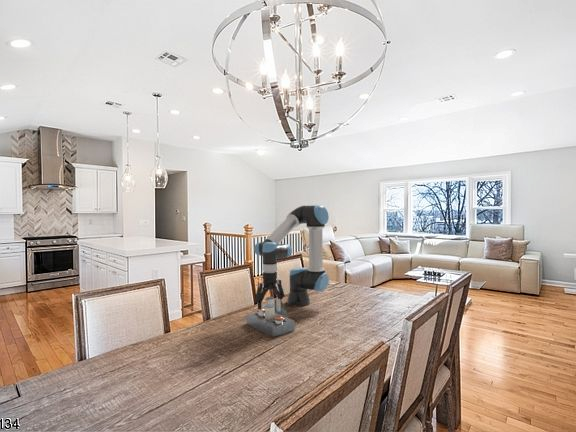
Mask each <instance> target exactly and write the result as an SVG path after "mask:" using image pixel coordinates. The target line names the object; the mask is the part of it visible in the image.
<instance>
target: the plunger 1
mask: <svg viewBox="0 0 576 432" xmlns="http://www.w3.org/2000/svg"><path fill="white" fill-rule="evenodd" d="M256 312H258V316H261V315H259V309H258V308H256ZM263 315H265V307H263Z"/></svg>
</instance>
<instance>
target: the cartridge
mask: <svg viewBox="0 0 576 432" xmlns="http://www.w3.org/2000/svg"><path fill="white" fill-rule="evenodd" d="M264 299H265V300H264V308H265V319H266V320H268V321H269V320H273V319H274V316H275V300H276V299H275V298H274V296H266V297H265V298H264Z"/></svg>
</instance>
